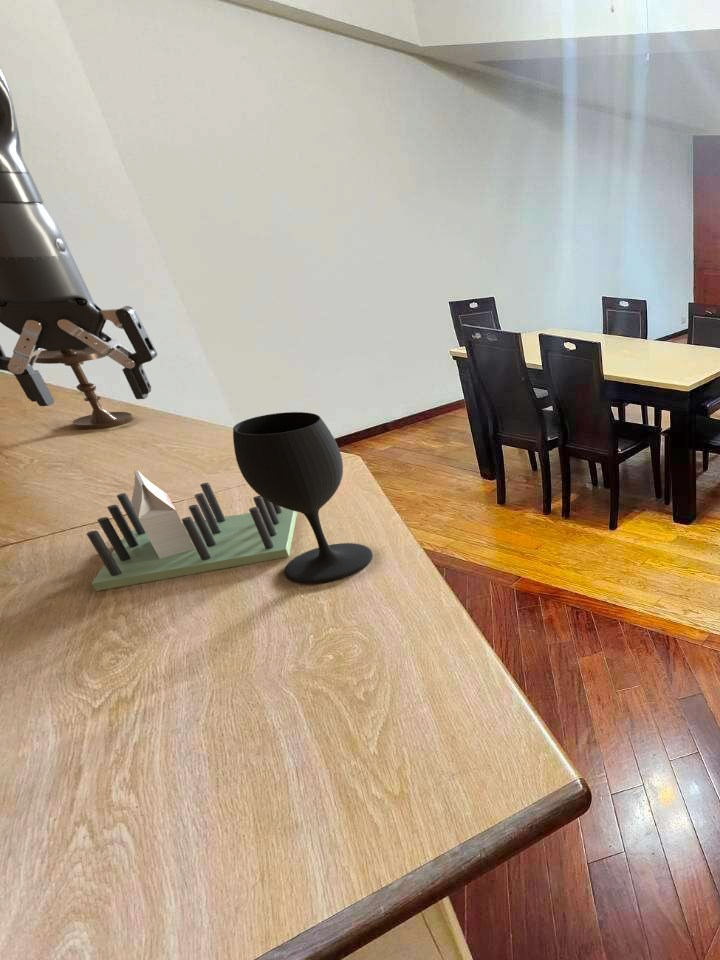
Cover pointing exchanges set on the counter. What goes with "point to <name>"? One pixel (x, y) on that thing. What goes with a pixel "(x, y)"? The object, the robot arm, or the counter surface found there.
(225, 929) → the counter surface
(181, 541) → the white milk carton
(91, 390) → the candlestick
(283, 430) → the wine glass
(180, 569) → the rack
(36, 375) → the robot arm
